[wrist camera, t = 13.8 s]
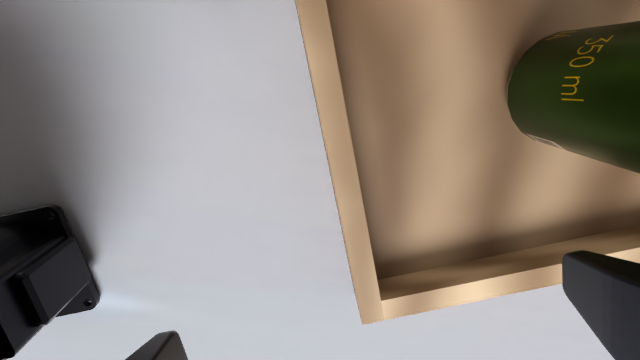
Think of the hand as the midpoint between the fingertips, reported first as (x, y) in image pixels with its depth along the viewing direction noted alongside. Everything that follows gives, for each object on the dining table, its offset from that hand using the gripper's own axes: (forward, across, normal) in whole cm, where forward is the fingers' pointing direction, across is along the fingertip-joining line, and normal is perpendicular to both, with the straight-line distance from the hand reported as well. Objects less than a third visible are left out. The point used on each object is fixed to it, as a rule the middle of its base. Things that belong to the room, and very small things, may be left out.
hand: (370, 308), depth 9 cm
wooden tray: (+13, -9, -1) cm, 16 cm away
